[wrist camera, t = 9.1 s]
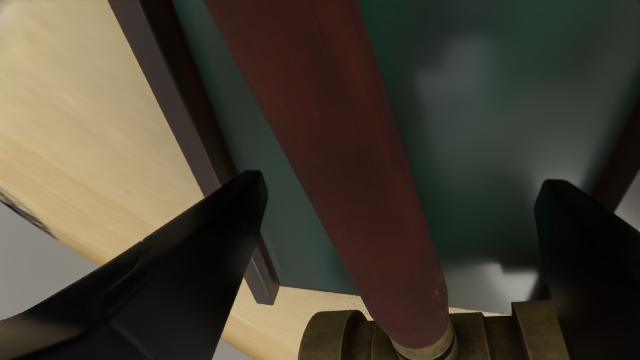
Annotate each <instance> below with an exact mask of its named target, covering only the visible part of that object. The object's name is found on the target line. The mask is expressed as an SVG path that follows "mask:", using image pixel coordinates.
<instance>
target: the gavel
mask: <svg viewBox="0 0 640 360" xmlns="http://www.w3.org/2000/svg"><path fill="white" fill-rule="evenodd" d="M202 1H203V3H204V4H205V6H206V8H207V10H208V12H209V14H210V16H211V18H212V19H213V21H214V23H215V25H216V27H217V29H218V31H219V32H220V34H221V36H222V38H223V40H224V42H225V44H226V46H227V47H228V49H229V51H230V53H231V55H232V57H233V59H234V61H235V62H236V64H237V66H238V68H239V70H240V72H241V74H242V76H243V77H244V79H245V81H246V83H247V85H248V87H249V89H250V91H251V92H252V94H253V96H254V98H255V100H256V102H257V104H258V106H259V107H260V109H261V111H262V113H263V115H264V117H265V119H266V121H267V122H268V124H269V126H270V128H271V130H272V132H273V134H274V136H275V137H276V139H277V141H278V143H279V145H280V147H281V149H282V150H283V152H284V154H285V156H286V158H287V160H288V162H289V164H290V165H291V167H292V169H293V171H294V173H295V175H296V177H297V179H298V180H299V182H300V184H301V186H302V188H303V190H304V192H305V194H306V195H307V197H308V199H309V201H310V203H311V205H312V207H313V209H314V210H315V212H316V214H317V216H318V218H319V220H320V222H321V224H322V225H323V227H324V229H325V231H326V233H327V235H328V237H329V239H330V240H331V242H332V244H333V246H334V248H335V250H336V252H337V253H338V255H339V257H340V259H341V261H342V263H343V265H344V267H345V268H346V270H347V272H348V274H349V276H350V278H351V280H352V282H353V283H354V285H355V287H356V289H357V291H358V293H359V295H360V297H361V298H362V300H363V302H364V304H365V306H366V308H367V310H368V312H369V313H370V315H371V317H372V318H373V319H374V321H367V319H366V317H365V316H364V314H363V313H362V312H361V311H359V310H342V311H323V312H318V313H316V314H315V315H314V316H312V318H311V319H310V321H309V322H308V324H307V327H306V329H305V331H304V334H303V337H302V340H301V343H300V348H299V354H298V360H570V358H569V355H568V351H567V348H566V345H565V342H564V338H563V335H562V332H561V328H560V325H559V322H558V318H557V315H556V312H555V309H554V305H553V302H552V300H540V301H520V302H511V313H512V316H488V317H484V315H483V314H482V312H475V313H451V314H449V311H448V289H447V285H446V282H445V279H444V276H443V272H442V269H441V266H440V263H439V259H438V256H437V253H436V250H435V247H434V243H433V240H432V237H431V234H430V230H429V227H428V224H427V221H426V218H425V214H424V211H423V208H422V205H421V201H420V198H419V195H418V192H417V189H416V185H415V182H414V179H413V176H412V172H411V169H410V166H409V163H408V160H407V156H406V153H405V150H404V147H403V144H402V140H401V137H400V134H399V131H398V127H397V124H396V121H395V118H394V115H393V111H392V108H391V105H390V102H389V98H388V95H387V92H386V89H385V86H384V82H383V79H382V76H381V73H380V69H379V66H378V63H377V60H376V57H375V53H374V50H373V47H372V44H371V40H370V37H369V34H368V31H367V28H366V24H365V21H364V18H363V15H362V12H361V8H360V5H359V2H358V0H202Z"/></svg>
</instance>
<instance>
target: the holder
mask: <svg viewBox="0 0 640 360" xmlns="http://www.w3.org/2000/svg"><path fill="white" fill-rule="evenodd" d="M108 2H109V4H110V6H111V8H112V10H113V12H114V14H115V16H116V19H117V21H118V23H119V25H120V27H121V29H122V31H123V33H124V35H125V37H126V39H127V41H128V43H129V45H130V47H131V49H132V51H133V53H134V55H135V57H136V59H137V61H138V63H139V65H140V67H141V69H142V71H143V73H144V75H145V77H146V79H147V81H148V83H149V85H150V87H151V89H152V92H153V94H154V96H155V98H156V100H157V102H158V104H159V106H160V108H161V110H162V112H163V114H164V116H165V118H166V120H167V122H168V124H169V126H170V128H171V130H172V132H173V134H174V136H175V138H176V140H177V142H178V144H179V146H180V148H181V150H182V152H183V154H184V156H185V158H186V160H187V162H188V165H189V167H190V169H191V171H192V173H193V175H194V177H195V179H196V181H197V183H198V185H199V187H200V189H201V191H202V193H203V195H204V197H207V196H208V195H210V194H211V193H213V192H214V191H216V190H217V189H219V188H220V187H222V186H223V185H225V184H226V183H228V182H229V181H231V180H232V179H233V178H235V177H236V176H238V175H239V174H241V173H242V172H244V171H246V170H260V171H261V172H262V174H263V177H264V180H265V183H266V186H267V189H268V194H269V196H268V202H267V205H266V209H265V213H264V217H263V221H262V225H261V229H260V232H259V236H258V240H257V243H256V246H255V249H254V252H253V254H252V257H251V259H250V262H249V265H248V267H247V270H246V272H245V275H244V278H245V280H246V282H247V284H248V286H249V288H250V290H251V292H252V294H253V296H254V298H255V300H256V302H257V303H259V304H266V305H273V304H274V301H275V299H276V296H277V293H278V290H279V286H284V287H292V288H300V289H308V290H316V291H324V292H332V293H340V294H348V295H356V296H360V295H359V293H358V291H357V289H356V287H355V285H354V283H353V282H352V280H351V278H350V276H349V274H348V272H347V270H346V268H345V267H344V265H343V263H342V261H341V259H340V257H339V255H338V253H337V252H336V250H335V248H334V246H333V244H332V242H331V240H330V239H329V237H328V235H327V233H326V231H325V229H324V227H323V225H322V224H321V222H320V220H319V218H318V216H317V214H316V212H315V210H314V209H313V207H312V205H311V203H310V201H309V199H308V197H307V195H306V194H305V192H304V190H303V188H302V186H301V184H300V182H299V180H298V179H297V177H296V175H295V173H294V171H293V169H292V167H291V165H290V164H289V162H288V160H287V158H286V156H285V154H284V152H283V150H282V149H281V147H280V145H279V143H278V141H277V139H276V137H275V136H274V134H273V132H272V130H271V128H270V126H269V124H268V122H267V121H266V119H265V117H264V115H263V113H262V111H261V109H260V107H259V106H258V104H257V102H256V100H255V98H254V96H253V94H252V92H251V91H250V89H249V87H248V85H247V83H246V81H245V79H244V77H243V76H242V74H241V72H240V70H239V68H238V66H237V64H236V62H235V61H234V59H233V57H232V55H231V53H230V51H229V49H228V47H227V46H226V44H225V42H224V40H223V38H222V36H221V34H220V32H219V31H218V29H217V27H216V25H215V23H214V21H213V19H212V18H211V16H210V14H209V12H208V10H207V8H206V6H205V4H204V3H203V1H202V0H108ZM358 2H359V5H360V8H361V12H362V15H363V18H364V21H365V24H366V28H367V31H368V34H369V37H370V40H371V44H372V47H373V50H374V53H375V57H376V60H377V63H378V66H379V69H380V73H381V76H382V79H383V82H384V86H385V89H386V92H387V95H388V98H389V102H390V105H391V108H392V111H393V115H394V118H395V121H396V124H397V127H398V131H399V134H400V137H401V140H402V144H403V147H404V150H405V153H406V156H407V160H408V163H409V166H410V169H411V172H412V176H413V179H414V182H415V185H416V189H417V192H418V195H419V198H420V201H421V205H422V208H423V211H424V214H425V218H426V221H427V224H428V227H429V230H430V234H431V237H432V240H433V243H434V247H435V250H436V253H437V256H438V259H439V263H440V266H441V269H442V272H443V276H444V279H445V282H446V285H447V289H448V307H452V308H460V309H468V310H476V311H484V312H492V313H500V314H508V315H512V313H511V302H520V301H540V300H552V299H551V295H550V292H549V289H548V285H547V282H546V279H545V275H544V271H543V266H542V261H541V255H540V249H539V243H538V236H537V230H536V224H535V218H534V204H535V201H536V199H537V196H538V193H539V191H540V188H541V185H542V183H543V182H544V180H546V179H565V180H568V181H569V182H571V183H572V184H574V185H575V186H576V187H578V188H579V189H581V190H582V191H584V192H585V193H586V194H588V195H589V196H591V197H592V198H593V199H595V200H596V201H598V202H599V203H601V204H602V205H603V206H605V207H606V208H608V209H609V210H610V211H612V212H613V213H615V214H616V215H617V216H619V217H620V218H622V219H623V220H625V221H626V222H627V223H629V224H630V225H632V226H633V227H634V228H636V229H637V230H639V231H640V0H358Z"/></svg>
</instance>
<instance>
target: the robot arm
mask: <svg viewBox="0 0 640 360" xmlns="http://www.w3.org/2000/svg"><path fill="white" fill-rule="evenodd" d="M268 196H269V194H268V189H267V186H266V183H265V180H264V177H263V174H262V172H261V171H260V170H246V171H244V172H242V173H241V174H239V175H238V176H236V177H235V178H233V179H232V180H231V181H229V182H228V183H226V184H225V185H223V186H222V187H220V188H219V189H217V190H216V191H214V192H213V193H211V194H210V195H208V196H207V197H205V198H204V199H202V200H201V201H199V202H198V203H196V204H195V205H193V206H192V207H190V208H189V209H187V210H186V211H184V212H183V213H181V214H180V215H178V216H177V217H175V218H174V219H172V220H171V221H169V222H168V223H166V224H165V225H163V226H162V227H160V228H159V229H157V230H156V231H155V232H153V233H152V234H150V235H149V236H147V237H146V238H144V239H143V241H139V242H138V243H137V244H135V245H134V246H132V247H131V248H129V249H128V250H126V251H125V252H123V253H121V254H120V255H118V256H117V257H115V258H114V259H112V260H111V261H109V262H108V263H106V264H104V265H103V266H101V267H99V268H98V269H96V270H94V271H93V272H91V273H90V274H88V275H86V276H84V277H83V278H81V279H79V280H78V281H76V282H74V283H72V284H71V285H69V286H67V287H66V288H64V289H62V290H61V291H59V292H57V293H56V294H54V295H52V296H50V297H49V298H47V299H45V300H44V301H42V302H40V303H39V304H37V305H35V306H33V307H31V308H30V309H28V310H26V311H24V312H22V313H19V314H17V315H15V316H12V317H10V318H7V319H4V320H1V321H0V360H212V358H213V355H214V353H215V350H216V347H217V345H218V342H219V340H220V337H221V334H222V332H223V329H224V327H225V324H226V321H227V319H228V316H229V314H230V311H231V309H232V306H233V303H234V301H235V298H236V296H237V293H238V290H239V288H240V285H241V283H242V280H243V277H244V275H245V272H246V270H247V267H248V265H249V262H250V259H251V257H252V254H253V252H254V249H255V246H256V243H257V240H258V236H259V232H260V229H261V225H262V221H263V217H264V213H265V209H266V205H267V202H268ZM534 218H535V224H536V230H537V236H538V243H539V249H540V255H541V261H542V266H543V271H544V275H545V279H546V282H547V285H548V289H549V292H550V295H551V299H552V302H553V305H554V309H555V312H556V315H557V318H558V322H559V325H560V328H561V332H562V335H563V338H564V342H565V345H566V348H567V351H568V355H569V358H570V360H640V231H639V230H637V229H636V228H634V227H633V226H632V225H630V224H629V223H627V222H626V221H625V220H623V219H622V218H620V217H619V216H617V215H616V214H615V213H613V212H612V211H610V210H609V209H608V208H606V207H605V206H603V205H602V204H601V203H599V202H598V201H596V200H595V199H593V198H592V197H591V196H589V195H588V194H586V193H585V192H584V191H582V190H581V189H579V188H578V187H576V186H575V185H574V184H572V183H571V182H569V181H568V180H565V179H546V180H544V182H543V183H542V185H541V188H540V191H539V193H538V196H537V199H536V201H535V204H534Z"/></svg>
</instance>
